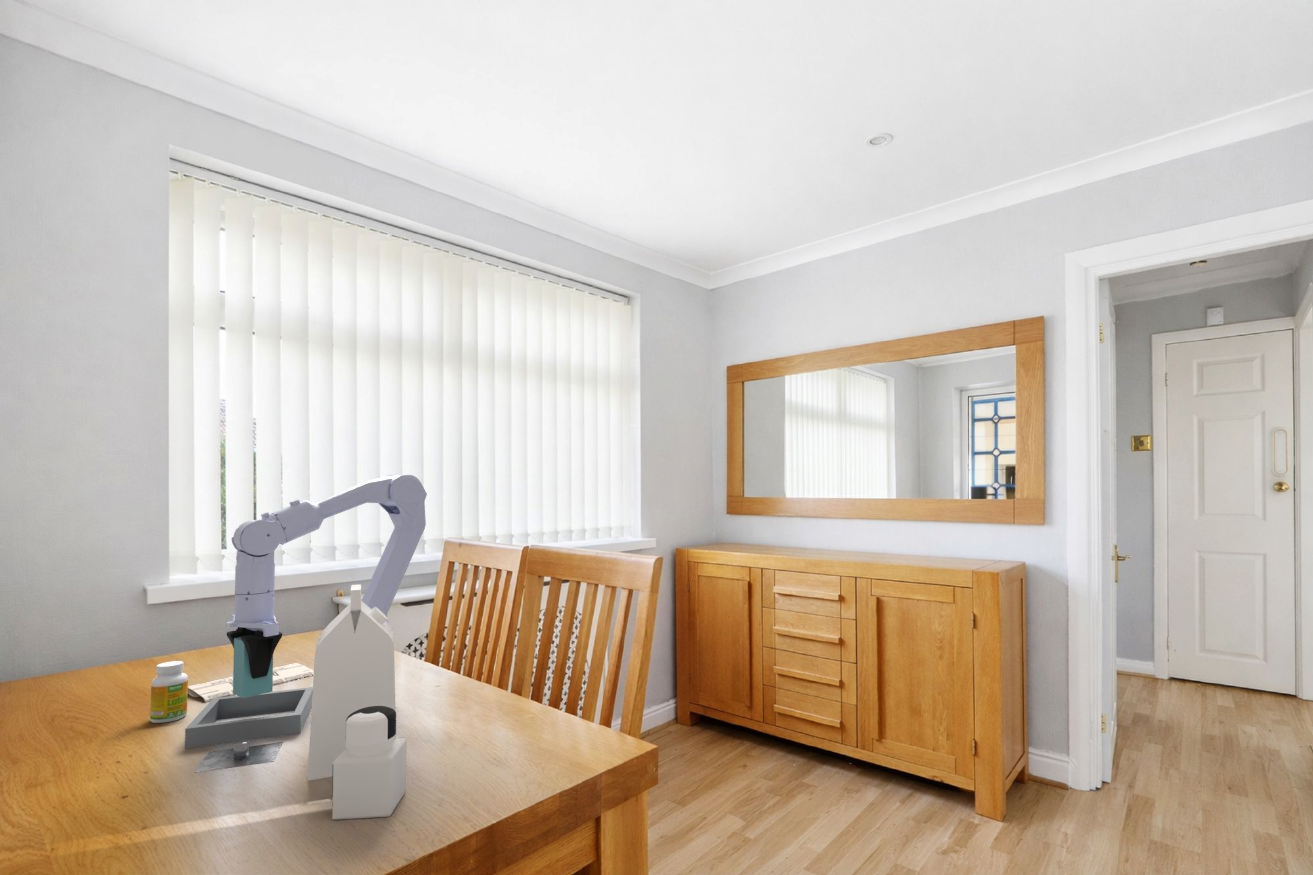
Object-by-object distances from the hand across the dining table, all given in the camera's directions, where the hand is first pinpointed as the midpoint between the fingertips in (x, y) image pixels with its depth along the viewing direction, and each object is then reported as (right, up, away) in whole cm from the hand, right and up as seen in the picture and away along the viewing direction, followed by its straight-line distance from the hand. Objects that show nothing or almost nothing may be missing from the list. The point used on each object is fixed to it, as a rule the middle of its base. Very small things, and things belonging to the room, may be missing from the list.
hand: (253, 674), depth 111 cm
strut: (0, -3, 0) cm, 3 cm away
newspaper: (-19, -13, +30) cm, 38 cm away
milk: (+22, -9, -12) cm, 27 cm away
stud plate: (+5, -9, -11) cm, 15 cm away
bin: (-1, -10, +3) cm, 11 cm away
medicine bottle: (+30, -8, -25) cm, 40 cm away
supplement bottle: (-21, -11, +9) cm, 26 cm away
